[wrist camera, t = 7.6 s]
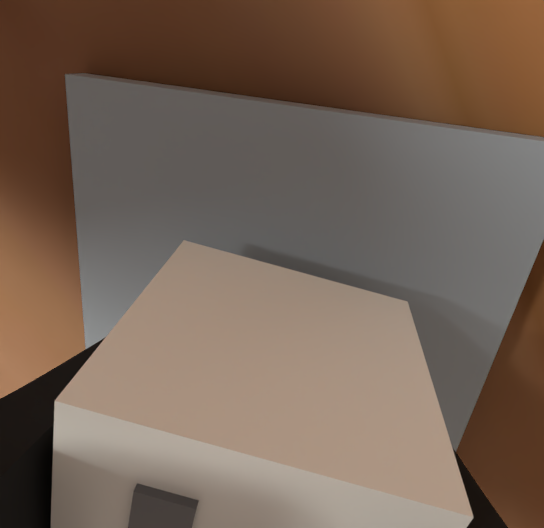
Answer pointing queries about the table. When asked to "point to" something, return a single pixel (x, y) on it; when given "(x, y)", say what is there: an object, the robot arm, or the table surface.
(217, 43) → the table surface
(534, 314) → the table surface
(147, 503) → the letter cube
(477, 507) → the robot arm
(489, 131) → the mat
